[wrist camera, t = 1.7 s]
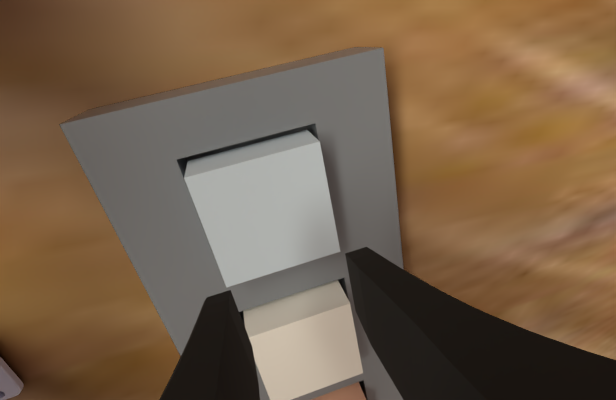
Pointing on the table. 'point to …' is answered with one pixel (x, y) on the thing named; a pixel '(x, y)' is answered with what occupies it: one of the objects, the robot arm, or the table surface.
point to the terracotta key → (344, 393)
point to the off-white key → (304, 341)
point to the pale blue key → (264, 206)
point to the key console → (233, 134)
